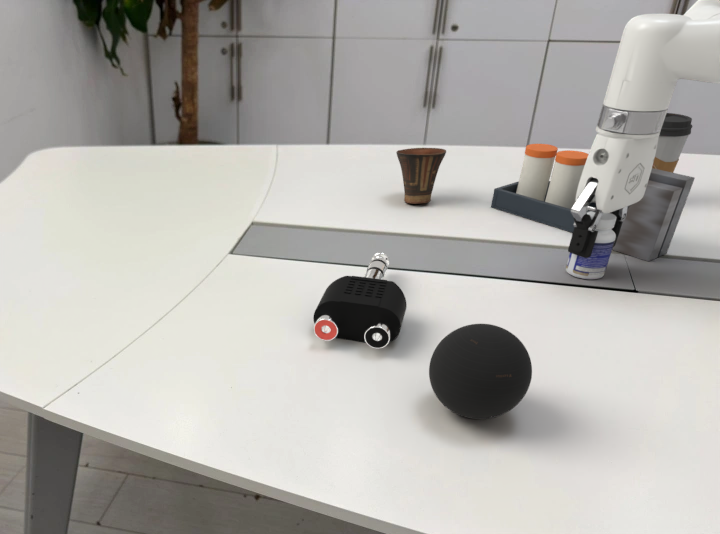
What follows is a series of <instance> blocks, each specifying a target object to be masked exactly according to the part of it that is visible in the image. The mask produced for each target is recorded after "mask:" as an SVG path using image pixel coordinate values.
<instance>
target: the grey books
mask: <svg viewBox="0 0 720 534" xmlns="http://www.w3.org/2000/svg"><path fill="white" fill-rule="evenodd" d="M695 178H696V177H694V176H690V175H686V174H680V173H676V172H673V173H672V172H667V171H663V170H658V169H654V168H652V170H651V173H650V177H649V180H648V184H647V187H646V190H645V193H644V196H643V198H642V199H641V200H640V201H638V202H637V203H634V204H632V205H631V206H629V208H628V209H627V215H626V218H625V219H624V220H623V221H622V222H623V223H622V226H621V229H620V232H619V235H618V238H617V241H616V245H615V246H614V247H613V248H612V251H614V252H618V253H620V254H624V255H626V256H627V255H628V256H630V257H633V258H637V259H640V260H642V261H646V262H651V261H653V260H655V259H657V258H660V257H662V256H664V255H667V254H668V251H669V248H670V246H671V243H672V240H673V237H674V235H675V233H676V230H677V227H678V224H679V221H680V218H681V216H682V213H683V210H684V208H685V205H686V203H687V200H688V198H689V196H690V192H691V189H692V188H693V187H692V186H693V184H694V181H695ZM620 221H621V220H620Z"/></svg>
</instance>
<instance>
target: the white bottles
mask: <svg viewBox="0 0 720 534" xmlns="http://www.w3.org/2000/svg"><path fill="white" fill-rule="evenodd" d="M558 150H559V149H558V147H557V146H555V145H552V144H547V143H530V144H527V145H526V146H525V150H524V156H523V160H522V166H521V170H520V173H519V179H518V181H519V183H518V187H517V191H516V194H520V195H523V196H527V197H530V198H534V199H537V200H541V201H544V199H545V195H546V191H547V187H548V183H549V181H550V184H549V188H548V192H547V196H546V200H545V202H548V203H551V204H555V205H558V206H562V207H565V208H569V209H572V207H573V205H574V204H575V199H576V193H577V189H578V185H579V182H580V178H581V175H582V172H583V169H584V166H585V163H586V160H587V157H588V155H589V153H587V152H584V151H581V150H571V149H570V150H569V149H568V150H560V151H558Z"/></svg>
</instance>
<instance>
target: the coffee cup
mask: <svg viewBox="0 0 720 534" xmlns="http://www.w3.org/2000/svg"><path fill="white" fill-rule="evenodd" d="M692 123H693V118H692V117H690V116H688V115H683V114H681V113H672V112H667V113H666V116H665V119H664V122H663V125H662V128H661V131H660V135H659V138H658V144H657V149H656V154H655V158H654V162H653V166H652V168H654V169H658V170H663V171H667V172H672V173H675V172H674V171H675V170H676V167H677V165H678V163H679V160H680V156H681V154H682V151H683V149H684V147H685V145H686V142H687V140H688V138H689V136H690V135H691V134H692V129H693V124H692Z"/></svg>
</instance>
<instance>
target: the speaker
mask: <svg viewBox="0 0 720 534" xmlns="http://www.w3.org/2000/svg"><path fill="white" fill-rule="evenodd" d="M428 377H429V383H430V386H431V389H432V391H433V393H434V395H435V396H436V398H437V400H439V402H440V403H441V404H442V405H443V406H444V407H445V408H446V409H448V410H449V411H451V412H452V413H454V414H456V415H458V416H461V417H463V418H466V419H467V418H468V419H471V420H472V419H473V420H487V419H493V418H497V417H500V416H503V415H504V414H506V413H508V412H510V411H511V410H513V409H514V408H515V407H517V405H519V403H521V401H522V400H523V399H524V398H525V396H526V394H527V392H528V390H529V389H530V385H531V382H532V378H533V365H532V360H531V357H530V354H529V351H528V350H527V348H526V346H525V345H524V343H523V342H522V341H521V340H520V339H519V338H518V337H517V335H515V334H513V333H512V332H511V331H509V330H508V329H505V328H503V327H501V326H498V325H494V324H491V323H473V324H467V325H464V326H461V327H458V328H456V329H454V330H452V331H451V332H450V333H448V334H447V335H446V336H444V338H442V339H441V340H440V342H439V343H438V344H437V346H436V347H435V349H434V350H433V352H432V355H431V358H430V361H429V367H428Z"/></svg>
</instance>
